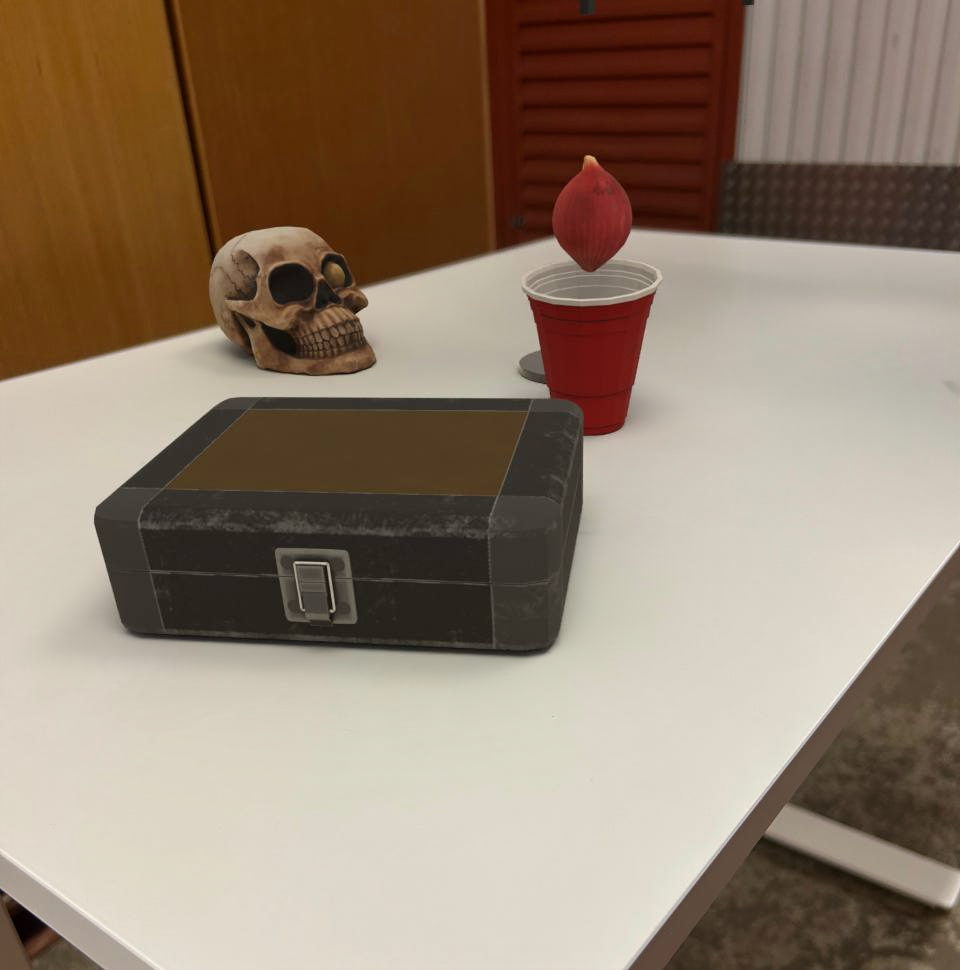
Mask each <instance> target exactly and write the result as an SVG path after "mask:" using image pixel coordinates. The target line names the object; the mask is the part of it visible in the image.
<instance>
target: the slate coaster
mask: <svg viewBox="0 0 960 970" xmlns="http://www.w3.org/2000/svg"><path fill="white" fill-rule="evenodd" d="M518 371H519V374H520V375H521V376H522V377H524V378H526V379H527V380H529V381H533V382H536V383H540V384H541V383H542V384H546V385H547V383H546V377H545V372H544V366H543V361H542V355H541V349H539V350H536V351H532V352H530V353H527V354H525V355H523V356H522V357H521V358H520V359H519V361H518Z"/></svg>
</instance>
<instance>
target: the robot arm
mask: <svg viewBox="0 0 960 970" xmlns="http://www.w3.org/2000/svg"><path fill="white" fill-rule="evenodd" d="M741 6H742V7H743V6H745V7H746V6H755V0H741ZM595 14H596V0H579V15H580V16H581V15H584V16H585V15H586V16H587V15H595Z"/></svg>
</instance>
